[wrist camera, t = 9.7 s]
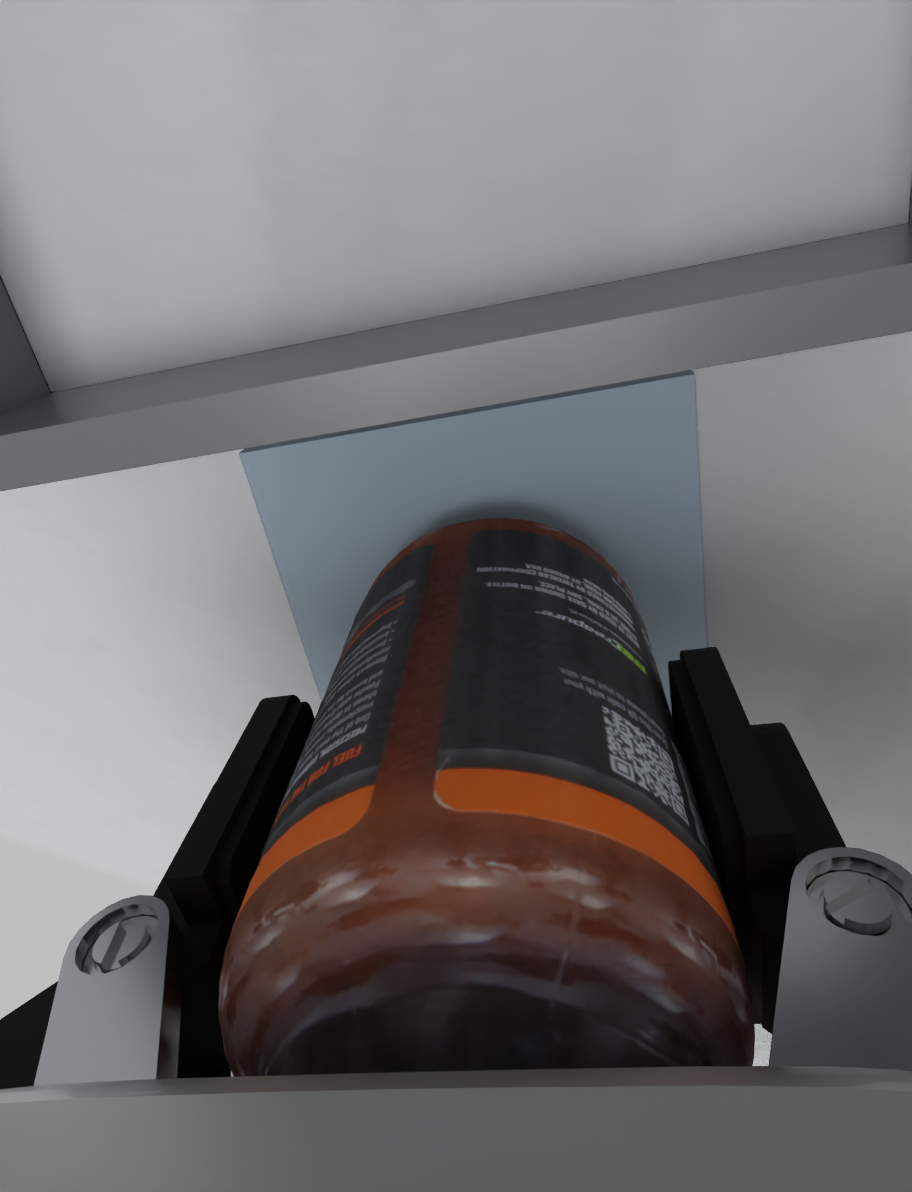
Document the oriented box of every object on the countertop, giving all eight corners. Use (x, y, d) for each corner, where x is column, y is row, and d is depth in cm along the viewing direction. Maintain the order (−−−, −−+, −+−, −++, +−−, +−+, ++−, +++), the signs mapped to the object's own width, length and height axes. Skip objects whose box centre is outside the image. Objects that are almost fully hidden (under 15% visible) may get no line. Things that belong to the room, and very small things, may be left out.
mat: (708, 744, 18) (711, 755, 18) (354, 778, 19) (351, 789, 19) (690, 369, 14) (694, 373, 14) (245, 447, 15) (238, 453, 15)
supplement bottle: (350, 725, 17) (95, 1462, 7) (374, 482, 14) (3, 1131, 4) (606, 770, 17) (718, 1578, 7) (680, 533, 14) (1050, 1319, 4)
